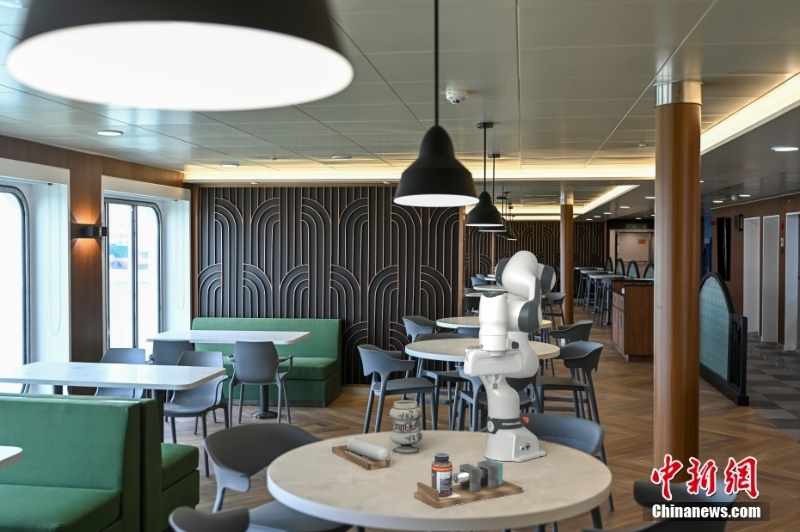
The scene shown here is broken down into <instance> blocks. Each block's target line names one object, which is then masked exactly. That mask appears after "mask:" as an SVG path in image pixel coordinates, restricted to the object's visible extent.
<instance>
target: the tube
mask: <svg viewBox="0 0 800 532" xmlns="http://www.w3.org/2000/svg"><path fill="white" fill-rule="evenodd" d="M346 445H347V449H348V450H350V451H349V452H351V451H353V452H352V453H354V452H356V453H358V454H361V455H364V456H367V457H369V458H372V459H375V460H378V461H385V460H388V461H389V458H390V457H391V455H390V450H389V448H387V447H385V446H382V445H379V444H376V443H372V442H370V441H366V440H363V439H360V438H357V437H355V436H353V437H349V440H347V444H346ZM356 453H355V454H356ZM358 454H357V455H358Z"/></svg>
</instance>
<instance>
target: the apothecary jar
mask: <svg viewBox="0 0 800 532" xmlns="http://www.w3.org/2000/svg"><path fill="white" fill-rule="evenodd" d="M422 414H423V411H422V409H421V408H420V407H419V405H418V402H417V401H415V400H407V399H405V400H397V401H394V403H393V407H392V408H391V409H390V410H389V416H390V417H391V418H392V431H391V432H390V433H389V438H390V440H391V441H392V442H393V443H395V444H396V445H399V446H397V447H395V448H393V449H392V452H393V453H394V452H395V453H394V454H396V453H399V454H398V455H404V454H408V455H415V453H416V454H418V453H420V449H419V447H416V446H413V445H414V444H418V443H419V442H420V441H422V439H423V432H422V431H421V430H420V425H419V423H420V421H419V420H420V417H421V416H422Z"/></svg>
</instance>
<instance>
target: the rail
mask: <svg viewBox="0 0 800 532" xmlns="http://www.w3.org/2000/svg"><path fill="white" fill-rule="evenodd" d="M484 468H486V469H488V478H484V479H480V469H484ZM466 471H468V472H470V481H467V482H461V483H458V484H455V485H453V484H452V494H451V495H449V496H446V497H440V496H439V491H438V490H436V489H434V488H432V486H429V485H428V484H425V483H423V482H421V481H420V482H419V481H418V482H416V487H417V488H416V489H417V490H416V491H415V492H413V498H415V499H416V500H417V501H420V502H422V503H424V504H425V505H428V506H429V505H430V506H429V507H431V506H432V508H433V507H434V508H433V509H435V508H436V509H435V510H438V509H437V508H439V509H443V508H442V507H445V508H447V507H446V506H450V507H453V506H452V505H455V506H457V505H456V504H460V505H462V504H461V503H465V504H467V503H466V502H471V501H476V502H478V501H477V500H481V499H486V500H488V499H487V498H491V499H494V498H493V497H497V498H500V497H499V496H502V497H505V496H504V495H507V496H511V494H512V495H517V494H521V493H523V487H522V486H520V485H517V484H515V483H512V482H509V481H507V480H504V479H503V484H500V485H499V482H498V465H496V464H493V463H491V462H488V461H486V460H482V461H477V466H475V465H472V464H470V463H464V464H459V473H460V472H466ZM516 493H517V494H516ZM481 501H482V500H481ZM471 503H472V502H471Z"/></svg>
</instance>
